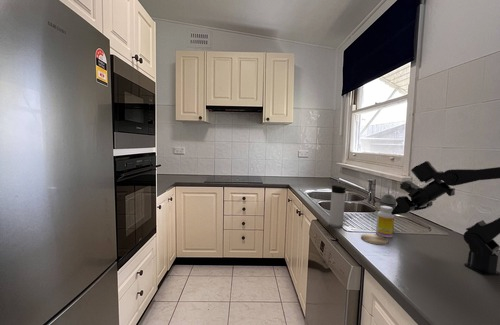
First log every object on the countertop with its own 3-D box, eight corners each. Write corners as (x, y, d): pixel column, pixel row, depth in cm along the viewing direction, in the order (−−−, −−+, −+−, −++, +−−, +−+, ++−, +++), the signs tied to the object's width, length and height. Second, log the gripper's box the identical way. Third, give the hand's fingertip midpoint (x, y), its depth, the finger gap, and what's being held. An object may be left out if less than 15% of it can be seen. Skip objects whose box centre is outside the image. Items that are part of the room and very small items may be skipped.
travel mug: (326, 224, 121) (328, 184, 120) (336, 222, 124) (338, 183, 122) (335, 228, 116) (338, 186, 114) (345, 227, 118) (348, 186, 117)
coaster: (393, 244, 100) (393, 243, 100) (369, 244, 99) (369, 243, 98) (377, 235, 110) (377, 233, 109) (356, 235, 108) (356, 233, 108)
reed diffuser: (379, 226, 121) (383, 186, 120) (376, 221, 128) (379, 184, 126) (396, 228, 119) (399, 187, 117) (392, 223, 126) (395, 185, 124)
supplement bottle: (395, 238, 106) (397, 209, 105) (378, 237, 107) (380, 208, 106) (389, 233, 112) (392, 205, 111) (373, 231, 114) (376, 204, 113)
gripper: (427, 174, 103) (397, 194, 113) (403, 176, 93) (373, 198, 104) (447, 197, 97) (414, 216, 107) (424, 201, 87) (390, 222, 98)
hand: (397, 212), depth 104 cm, fingers open, 9 cm apart
